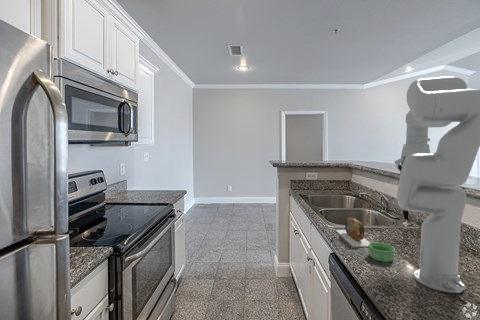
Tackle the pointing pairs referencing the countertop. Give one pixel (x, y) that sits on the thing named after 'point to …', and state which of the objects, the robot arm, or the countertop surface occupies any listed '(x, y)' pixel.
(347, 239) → the mat
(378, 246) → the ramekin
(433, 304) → the countertop surface
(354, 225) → the tin
